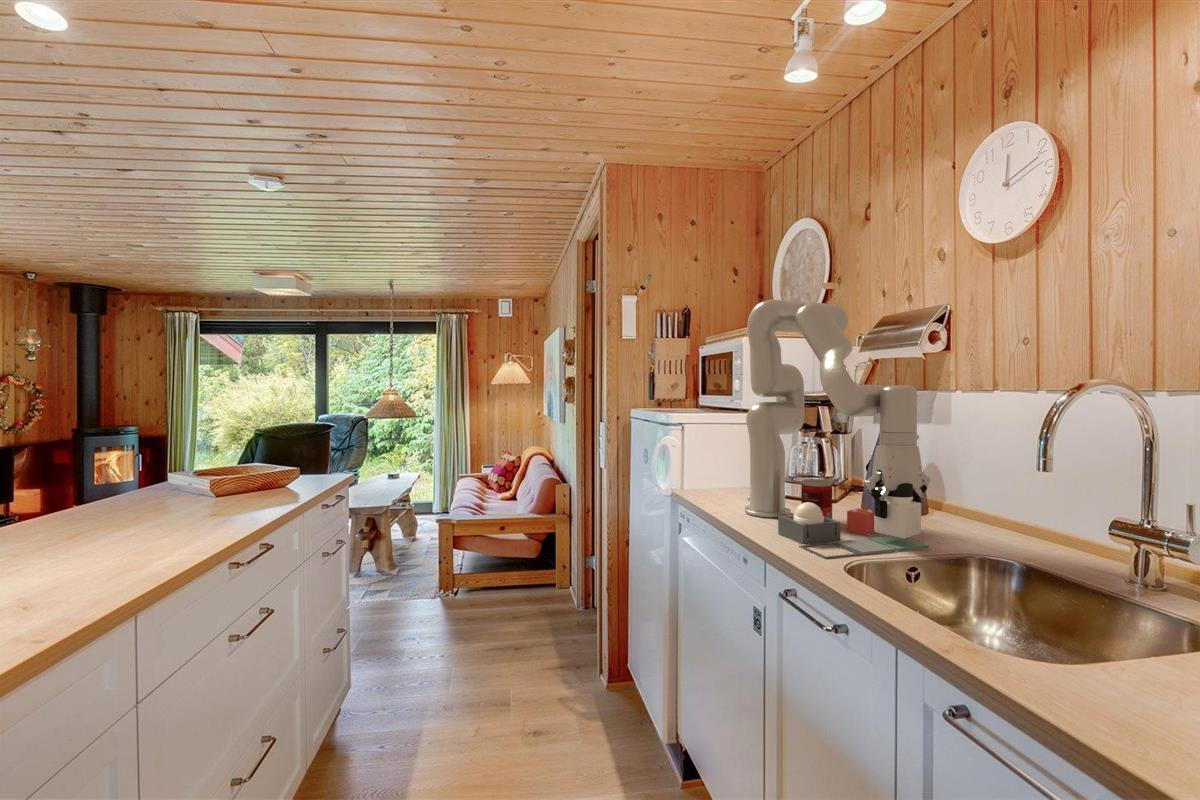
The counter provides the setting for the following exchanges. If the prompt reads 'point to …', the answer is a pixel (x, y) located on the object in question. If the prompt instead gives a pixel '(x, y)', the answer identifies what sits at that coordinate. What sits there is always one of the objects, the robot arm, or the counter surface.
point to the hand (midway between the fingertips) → (897, 515)
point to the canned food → (818, 494)
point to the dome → (808, 513)
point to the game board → (871, 546)
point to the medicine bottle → (900, 514)
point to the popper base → (809, 530)
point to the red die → (861, 521)
